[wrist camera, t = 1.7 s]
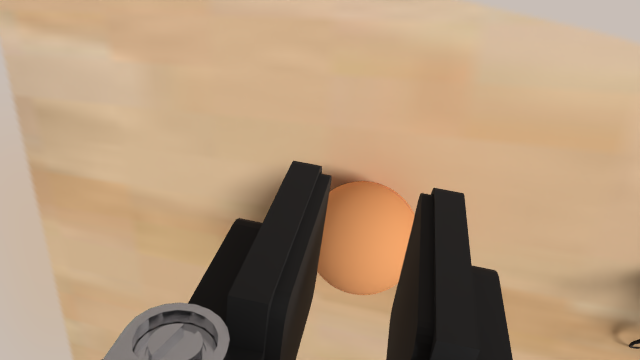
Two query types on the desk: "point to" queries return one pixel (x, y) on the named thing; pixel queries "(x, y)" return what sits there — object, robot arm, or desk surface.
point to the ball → (364, 238)
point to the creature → (634, 343)
